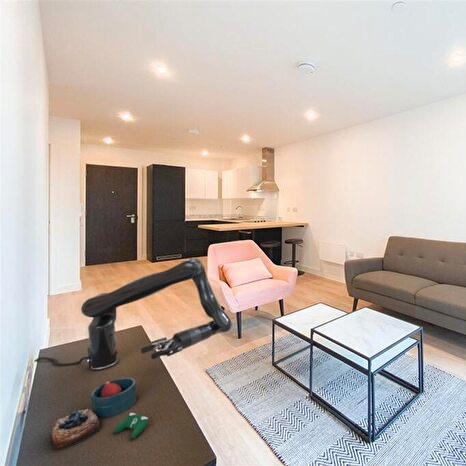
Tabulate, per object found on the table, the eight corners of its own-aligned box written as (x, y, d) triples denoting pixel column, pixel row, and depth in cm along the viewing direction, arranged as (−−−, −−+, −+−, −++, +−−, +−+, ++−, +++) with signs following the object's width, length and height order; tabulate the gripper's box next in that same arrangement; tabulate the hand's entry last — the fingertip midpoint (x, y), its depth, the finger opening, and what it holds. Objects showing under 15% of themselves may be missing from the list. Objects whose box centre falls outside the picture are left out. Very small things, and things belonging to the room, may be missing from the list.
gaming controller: (141, 440, 93) (153, 419, 96) (131, 438, 90) (144, 416, 94) (121, 433, 96) (133, 412, 99) (111, 431, 93) (125, 410, 97)
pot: (83, 416, 101) (81, 397, 100) (114, 394, 113) (112, 377, 112) (116, 418, 100) (115, 399, 99) (144, 395, 112) (143, 378, 112)
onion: (112, 402, 103) (103, 382, 104) (101, 409, 104) (92, 389, 105) (128, 394, 109) (119, 374, 110) (117, 401, 110) (109, 381, 111)
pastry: (94, 415, 102) (93, 399, 101) (102, 431, 94) (101, 414, 94) (49, 433, 93) (48, 416, 93) (54, 453, 86) (52, 435, 85)
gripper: (178, 326, 132) (137, 340, 118) (196, 333, 124) (154, 349, 110) (179, 342, 132) (138, 358, 119) (197, 350, 125) (155, 368, 111)
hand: (146, 353), depth 115 cm, fingers open, 8 cm apart
